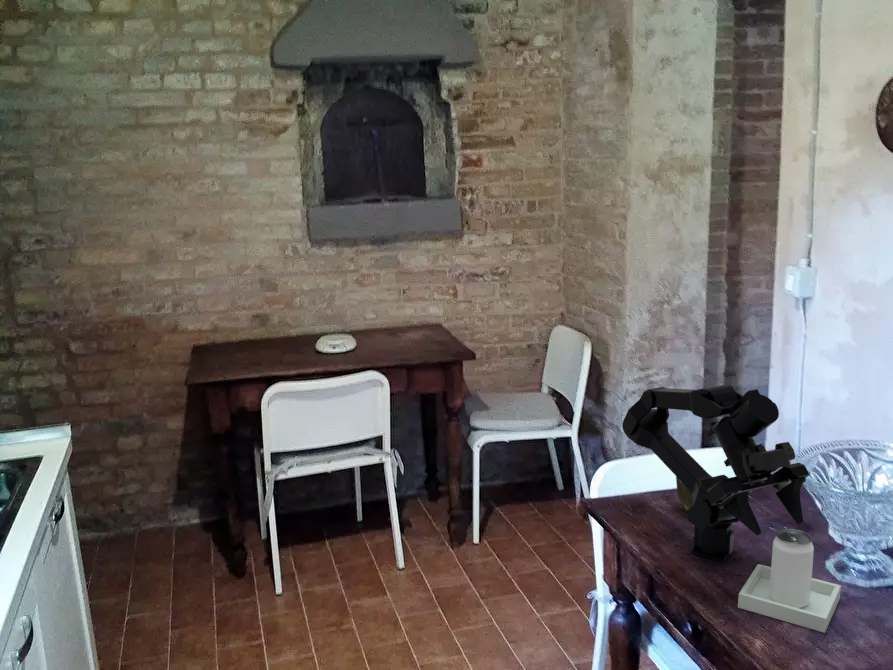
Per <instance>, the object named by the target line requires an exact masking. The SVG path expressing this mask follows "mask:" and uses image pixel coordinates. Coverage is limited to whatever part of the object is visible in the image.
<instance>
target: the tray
mask: <svg viewBox="0 0 893 670" xmlns="http://www.w3.org/2000/svg"><path fill="white" fill-rule="evenodd" d="M770 579H771V566H767V565H765V564H759V563H757V565H756V567H755V568H754V570H753V571H752V572H751V574H750V576H749V577H748V579H747V580H746V582H745V584H744V585H743V586H742V588H741V589H740V591H739V593H738V597H737V599H738V600H737V602H738V603H737V608H738V609H741V610H745V611H748V612H752V613H756V614H759V615H762V616H766V617H769V618H772V619H777V620H780V621H783V622H787V623H790V624H793V625H796V626H800V627H802V628H803V627H804V628H807V629H811V630H814V631H818V632H820V633H824V634H825V633H826V631H827V630H828V626H829V624H830V622H831V620H832V617H833V616H834V613H835V610H836V608H837V606H838V603H839V601H840V599H841V589H842V585H840V584H837V583H833V582H828V581H825V580H821V579H817V578H814V577H812V579H811V591H810V601H809V604H808V605H807V606H805V607H804V608H801V609H799V608H796V607H792V606H789V605H785V604H781V603H778V602H774V601H773V600H772V599H771V597H770Z"/></svg>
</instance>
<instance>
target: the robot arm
mask: <svg viewBox="0 0 893 670" xmlns="http://www.w3.org/2000/svg"><path fill="white" fill-rule="evenodd" d="M669 410H678V411H680V410H681V411H689V412H691V413H692V415H693V416H695V417H699V418H701V419H704V420H709V419H713V418H719V417H722V418H721V419H719V420H716V421H712V422H710V423H709V429H708V431H707V437H708V438H714V437H716V438H717V440H718V443H719V444H720V446H721V449H722V451H723V453H724V455H725V457H726V460H724V461H723V463H724V465H725V467H731V469H732V471H733V474H734V476H732V477H728V476H727V475H725V474H720V475H715V476H712V475H711V474H710V473H708V472H707V470H706V469H704V467H702V465H700V464H699V462H697V461H696V459H695V458H693V456H691V455H690V453H689V452H687V450H686V449H685V448H683V446H682V445H681V444H679V442H677V440H676V439H675V438H674V437H673V436H672V435H671V434H670V432H669V422H668V420H669V417H670V412H669ZM779 415H780V412H779V408H778V405H777V404H776V402H774V401H773V400H772V399H770V398H769V397H768V396H766V395H764V394H760V391H759V389H758V388H755V389H750V390H747V391H746V392H745V393H744V395H743V394H742V393H739V392H737V391H736V390H735V389H734V387H733V386H732V385H731V384H726V383H725V384H721V385H720V384H719V385H713V386H708V387H704V388H703V387H702V388H699V389H690V388H671V387H670V388H667V387H664V386H659V387H653V388H649V389H648V388H647V389H646V390H645V391H643V393H642V394H641V396H640V398H639V399H638V400H637V401H636V402H635V403H634V404H633V405H632V406H631V407H630V408H628V411H627V412H626V414H625V416H624V419H623V420H622V426H621V427H622V431H623V433H624V435H626V438H628V439H630V440H631V442H632V443H634V444H636V445H637V446H640V447H642V448H643V447H644V448H646V449H649V450H651V451H652V453H654V454H655V455H656V456H657V458H659V459H660V461H661V462H662V463H663V464H664V465H665V466H666V467H667V468H668V470H670V471H671V472H672V474H674V475H675V478H676V477H677V478H678V479H679V480H680V481H681V482H682V483H683V484H684V485H685V486H686V487H687V488H688V489H689V490H690V491H691V493H692V497H693V505H694V506H692V507H691V508H690V509H688V510H687V512H686V517H687V521H688V523H690V524H692V525H693V526H694V530H693V531H694V533H693V545H692V546H693V547H691V549H690V551H689V552H690V554H692V555H696V556H699V557H700V556H701V557H704V558H706V559H707V558H708V559H711V560H715V561H718V562H724V561H725V560H726V559H727V558H728V557H729V556H730V555H731V554H732V552H733V551H734V540H735V531H734V530H732V527H733V525H732V524H734V523H736V524H737V523H739V522H740V523H741V524H743V525H744V526H745V527H746V528H747V529H748V530H750V531H751V532H752V533H753V534H755V536H760V535H762V529H761V527H760V524H759V522H758V521H757V518H756V516H755V513H754V512H753V510H752V508H751V505H750V502H749V492H750V491H754V490H757V489H763V488H767V487H771V486H772V487H773V488H774V489H776V490H778V491H776V492H775V495H776V497H777V498H778V499H779V501H780V502H781V503H782V505H783V506H784V508H785V509H786V511H787V512H788V514H789V515H790V516H791V518H792V520H794V522H795V523H796V524H797V525H799V526H800V525H802V524H803V523H804V518H803V510H802V504H801V488H802V486H803V484H804V483H806V481H807V478H808V477H809V476H810V475H811V474H810V472H809V470H808V469H807V466H806V465H805V464H803V463H801V462H795V463H791V461H792V460H795V459H796V453H795V450H794V448H793V446H792V445H791V443H790V441H785V442H780V443H779V442H778V443H776V444H775V448H774V449H771V450H766V448H765V446H764V445H763V444H762V443H760V444H757V443H756V441H755V438H754V437H757V436H759V435H760V434H761V433H762V432H764V431H765V430H766V429H767V428H769V427H770V426H771V425H773V424H774V423H776V421H777V420H778V418H779V417H780V416H779ZM723 416H724V417H723ZM710 475H711V476H710Z"/></svg>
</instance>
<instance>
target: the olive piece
mask: <svg viewBox="0 0 893 670" xmlns="http://www.w3.org/2000/svg"><path fill="white" fill-rule="evenodd" d="M709 475H710V476H712V475H711V474H709ZM675 482H676V490H677V491H676V492H677V493H676V494H677V497H678V499H679V502H680V503H681V504H682V505H683V509H684V511H685V512H686V513H687V510H688V509H690V508H691V507H692V506H694V505H693V497H692V493H691V491H690V490H689V489H688V488H687V487H686V486H685V485H684V484H683V483H682V482H681V481H680V480H679V479H678V478H677V477H676V476H675Z"/></svg>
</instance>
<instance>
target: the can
mask: <svg viewBox="0 0 893 670" xmlns="http://www.w3.org/2000/svg"><path fill="white" fill-rule="evenodd" d="M812 541H813V539H812V536H811V535H810V534H809V533H806V532H805V531H803V530H800V529H793V528H784V529H780V530H777V532H776V535H775V538H774V539H773V542H772V551H771V552H772V553H771V563H770V564H771V566H770V567H771V579H770V597H771V599H772V600H773V601H774V602H778V603H781V604H785V605H789V606H792V607H796V608H799V609H801V608H804V607H805V606H807V605H808V604H809V601H810V591H811V579H812V578H813V568H814V567H813V564H814V563H813V562H814V554H815V553H814V551H815V548H814V544H813V542H812Z"/></svg>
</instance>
